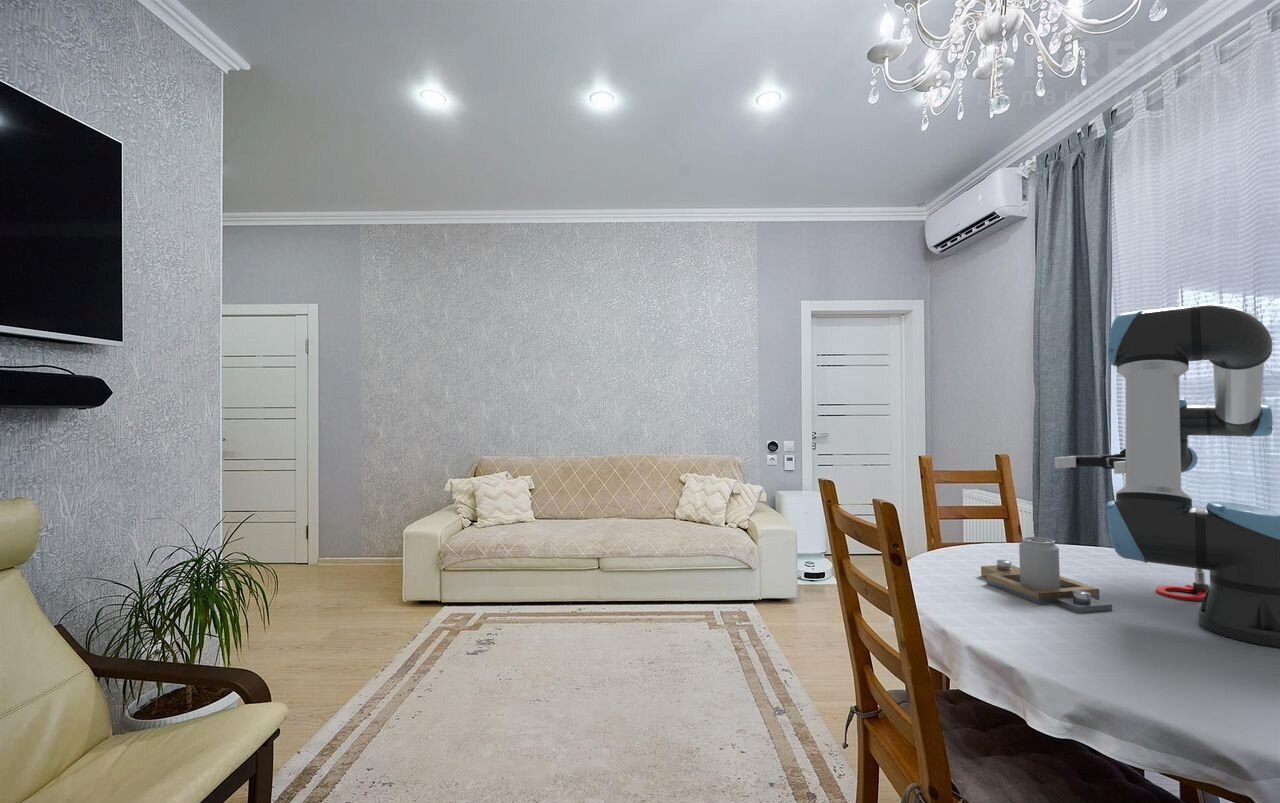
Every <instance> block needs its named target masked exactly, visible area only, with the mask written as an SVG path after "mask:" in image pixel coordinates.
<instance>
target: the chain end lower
mask: <svg viewBox="0 0 1280 803" xmlns="http://www.w3.org/2000/svg"><path fill="white" fill-rule="evenodd" d="M1013 581H1016V582H1019V583H1020V579H1018V580H1013ZM985 582H986V585H989V586H991V587H993V588H996V589H997V590H998V589H999V590H1001V591H1004V592H1005V593H1009V594H1011V595H1013V596H1016V597H1018V598H1021V599H1023V600H1026V601H1028V602H1031V603H1034V604H1035V605H1036V604H1037V605H1038V606H1040V605H1041V606H1042V605H1052V604H1053V605H1056V606H1059V607H1061V608H1064V609H1066V610H1070V611H1072V612H1074V613H1077V614H1084V613H1098V612H1109V611H1113V604H1111V603H1110V602H1109V603H1108V602H1105V601H1102V600H1100V593H1099V594H1097V595H1091V594H1090V593H1089V592H1085V591H1079V590H1075V591H1073V596H1071V597H1058V598H1046V599H1037V598H1035V597H1032V596H1030V595H1027V594H1024V593H1022V592H1019V591H1017V590H1014V589H1011V588H1009V587H1006V586H1004V585H1001V584H998V583H996V582H993V581H991V580H988V579H986V581H985ZM1060 588H1070V587H1067V586H1064V585H1061V584H1060Z"/></svg>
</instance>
